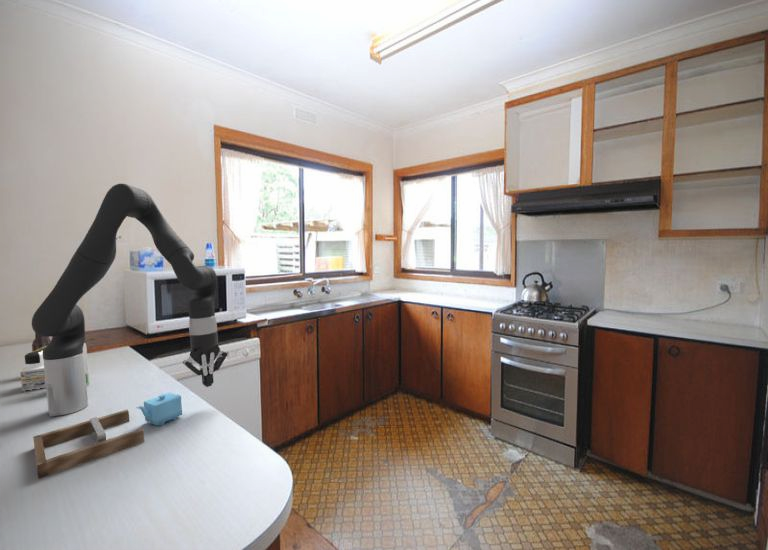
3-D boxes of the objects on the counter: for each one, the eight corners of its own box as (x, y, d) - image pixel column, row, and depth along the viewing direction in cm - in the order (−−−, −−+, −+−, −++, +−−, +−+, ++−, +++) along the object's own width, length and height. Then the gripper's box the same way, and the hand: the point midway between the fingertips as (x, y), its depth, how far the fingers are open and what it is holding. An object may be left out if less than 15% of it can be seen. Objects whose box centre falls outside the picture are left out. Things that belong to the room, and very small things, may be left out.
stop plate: (99, 451, 87) (97, 435, 86) (90, 433, 96) (89, 418, 95) (107, 448, 88) (105, 433, 87) (98, 431, 97) (96, 416, 96)
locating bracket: (38, 478, 77) (36, 465, 77) (34, 448, 90) (33, 436, 89) (144, 441, 91) (143, 430, 91) (128, 419, 104) (127, 409, 103)
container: (21, 392, 127) (17, 356, 126) (30, 384, 134) (27, 351, 133) (50, 387, 131) (46, 352, 130) (57, 380, 137) (54, 347, 136)
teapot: (143, 434, 95) (140, 407, 95) (132, 428, 98) (129, 402, 98) (187, 415, 105) (185, 390, 105) (176, 411, 108) (174, 387, 108)
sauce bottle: (41, 377, 142) (36, 328, 140) (29, 376, 143) (24, 328, 141) (59, 371, 148) (54, 324, 146) (47, 371, 149) (42, 324, 148)
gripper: (220, 325, 117) (224, 376, 118) (175, 333, 107) (180, 389, 109) (230, 328, 112) (234, 382, 113) (184, 337, 102) (189, 396, 103)
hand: (208, 385), depth 111 cm, fingers closed
